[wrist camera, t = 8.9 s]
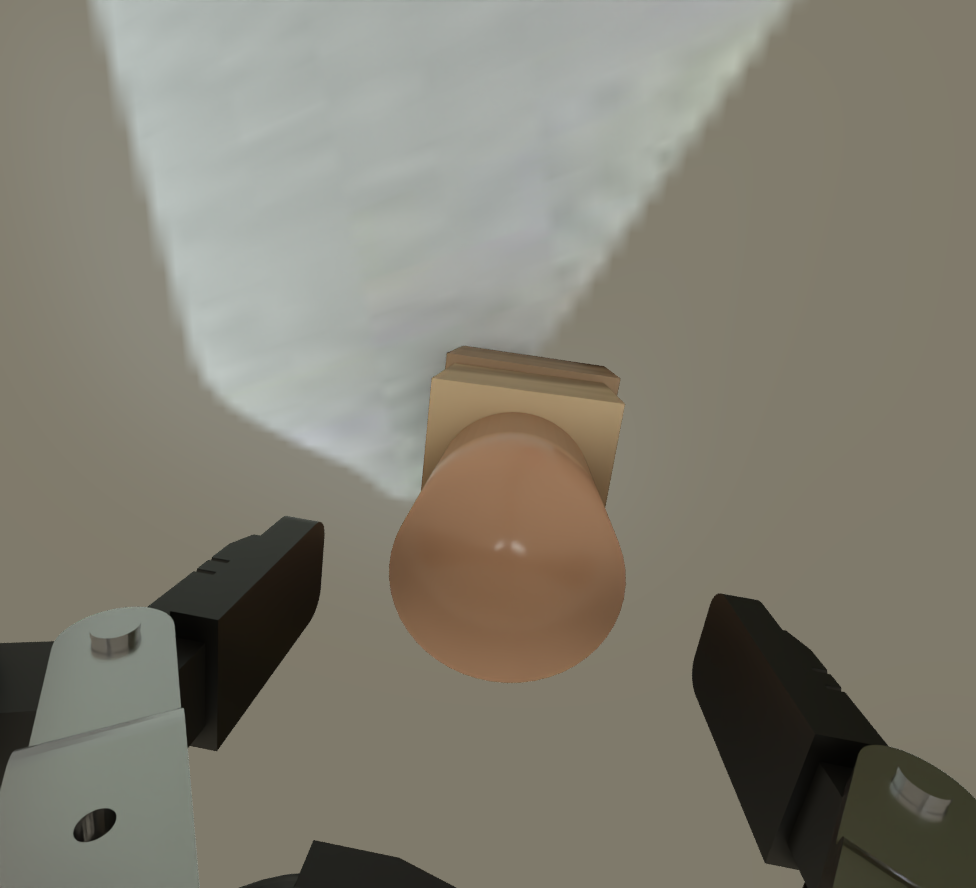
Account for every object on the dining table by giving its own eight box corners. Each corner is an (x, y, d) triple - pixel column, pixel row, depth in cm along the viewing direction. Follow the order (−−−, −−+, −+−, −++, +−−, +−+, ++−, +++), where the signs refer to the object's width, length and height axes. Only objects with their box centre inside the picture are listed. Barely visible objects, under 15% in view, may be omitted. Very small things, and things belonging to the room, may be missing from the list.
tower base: (463, 345, 26) (446, 352, 21) (604, 366, 25) (620, 378, 21) (447, 478, 28) (428, 513, 23) (578, 499, 27) (587, 539, 22)
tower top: (455, 363, 21) (431, 378, 16) (603, 383, 21) (624, 404, 16) (440, 501, 22) (415, 552, 18) (578, 521, 22) (591, 579, 17)
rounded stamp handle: (443, 402, 16) (397, 453, 10) (603, 422, 16) (647, 487, 10) (429, 547, 18) (381, 664, 12) (577, 568, 17) (602, 698, 12)
